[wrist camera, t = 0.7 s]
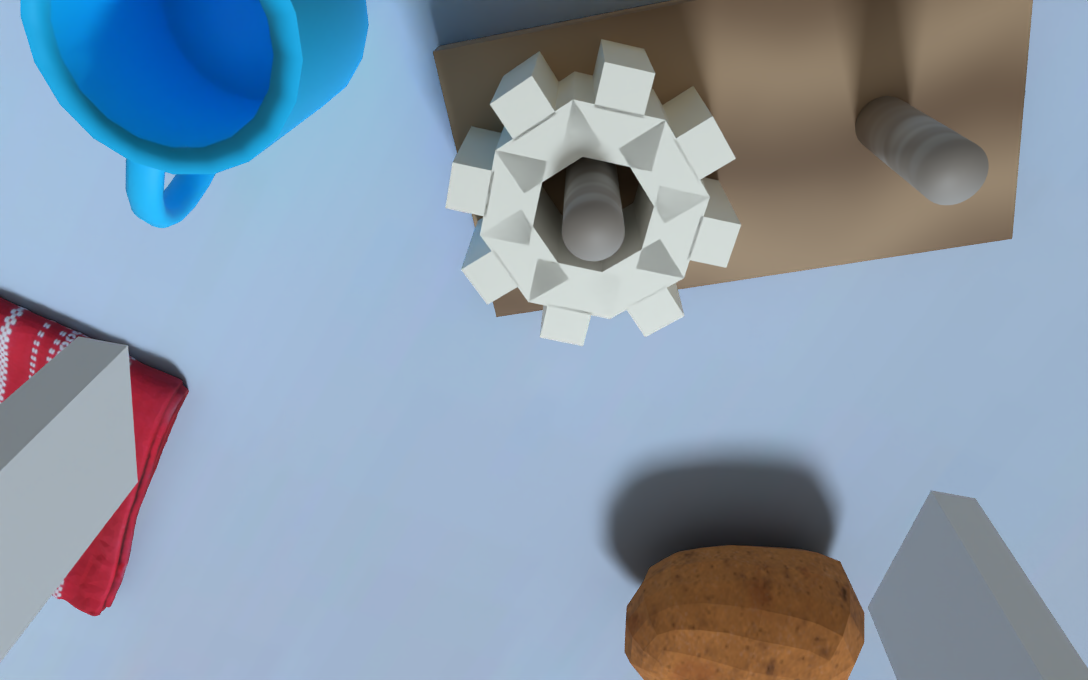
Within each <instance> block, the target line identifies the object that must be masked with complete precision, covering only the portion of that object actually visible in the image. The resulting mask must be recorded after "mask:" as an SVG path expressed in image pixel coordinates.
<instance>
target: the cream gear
mask: <svg viewBox="0 0 1088 680" xmlns="http://www.w3.org/2000/svg"><path fill="white" fill-rule="evenodd" d="M654 76H655V72H654V69H653V67H652V65H651V63H650V60H649V58H648V56H647V54H646V52H645V49H643V48H638V47H634V46H630V45H625V44H621V43H617V42H612V41H608V40H603V39H601V42H600V47H599V51H598V55H597V60H596V64H595V68H594V73H593V75H588V74H584V73H580V72H575V71H574V72H573V73H571V74H570V75H568V76H567V77H565V78H564V79H562V80H561V81H558V80H557V78H556V77H555V75H554V73H553V72H552V70H551V69H550V67H549V65H548V64H547V62H546V61H545V59H544V57H543V56H542V54H541V52H540V51H539V52H537V53H536V54H534V55H533V56H531V57H530V58H528V59H527V60H526V61H524V62H523V63H521V64H520V65H518V66H517V67H515V68H514V69H512V70H511V71H509V72H508V73H507V74H505V75H504V76H503V78H502V80H501V82H500V84H499V86H498V88H497V90H496V92H495V94H494V96H493V98H492V101H491V103H490V105H491V107H492V108H493V110H494V111H495V113H496V114H497V116H498V117H499V119H500V120H501V122H502V123H503V125H504V128H503V130H502V133H500V132H495V131H490V130H486V129H481V128H477V127H472V126H471V128H470V130H469V132H468V134H467V136H466V137H465V139H464V141H463V143H462V145H461V147H460V149H459V151H458V153H457V155H456V157H455V159H454V161H453V163H452V169H451V176H450V182H449V189H448V195H447V201H446V208H447V209H452V210H456V211H461V212H466V213H471V214H475V215H480V216H483V218H482V219H480V220H478V221H477V224H476V227H475V230H474V233H473V236H472V239H471V242H470V245H469V248H468V251H467V254H466V257H465V260H464V263H463V266H462V269H461V270H462V271H463V273H464V274H465V275H466V277H467V278H468V279H469V281H470V282H471V283H472V285H473V286H474V287H475V289H476V290H477V291H478V293H479V294H480V295H481V297H482V298H483V299H484V301H485V302H486V303H487V305H488V304H489V303H491V302H493V301H495V300H496V299H498V298H500V297H501V296H503V295H505V294H506V293H508V292H510V291H512V290H513V289H515V288H517V287H518V288H519V290H520V291H521V292H522V294H523V295H524V297H525V298H526V299H527V301H528V302H531V303H535V304H540V305H543V313H542V323H541V333H540V338H545V339H550V340H555V341H560V342H565V343H570V344H575V345H580V346H583V344H584V340H585V337H586V333H587V329H588V325H589V322H590V318H591V315H593V316H598V317H603V318H608V319H611V318H613V317H614V316H616V315H618V314H620V313H622V312H624V311H625V310H627V311H628V312H629V314H630V315H631V317H632V318H633V320H634V321H635V323H636V324H637V326H638V327H639V329H640V330H641V332H642V333H643V335H644V336H645V337H646V336H648V335H650V334H652V333H654V332H656V331H658V330H659V329H661V328H663V327H665V326H667V325H669V324H671V323H672V322H674V321H676V320H678V319H680V318H682V317H684V313H683V309H682V305H681V301H680V297H679V293H678V289H677V285H676V282H678V281H680V280H682V279H683V278H684V277H685V273H686V270H687V267H688V264H689V261H690V260H692V261H696V262H701V263H706V264H710V265H715V266H720V267H724V268H726V267H727V264H728V262H729V259H730V256H731V253H732V250H733V247H734V244H735V241H736V238H737V235H738V233H739V230H740V227H741V223H740V221H739V219H738V217H737V216H736V214H735V212H734V210H733V208H732V206H731V204H730V202H729V200H728V198H727V196H726V194H725V192H724V190H723V188H722V186H721V184H720V182H719V180H714V179H709V178H705V177H706V176H707V175H709V174H711V173H712V172H714V171H716V170H717V169H719V168H721V167H723V166H724V165H726V164H728V163H729V162H731V161H733V160H734V159H736V158H735V156H734V154H733V152H732V150H731V149H730V147H729V145H728V143H727V141H726V140H725V138H724V136H723V134H722V132H721V130H720V129H719V127H718V125H717V123H716V121H715V120H714V118H713V116H712V114H711V113H710V111H709V110H708V108H707V106H706V105H705V103H704V102H703V100H702V99H701V97H700V95H699V94H698V92H697V91H696V89H695V88H694V86H692V87H690V88H689V89H687V90H686V91H684V92H682V93H681V94H679V95H678V96H676V97H674V98H673V99H671V100H670V101H668V102H666V103H665V104H663V105H662V104H661V102H660V100H659V98H658V97H657V95H656V93H655V91H654V89H651V88H652V84H653V80H654ZM582 157H587V158H591V159H596V160H600V161H605V162H609V163H614V164H619V165H623V166H628V167H630V168H631V169H632V171H633V173H634V174H635V176H636V178H637V179H638V181H639V184H638V188H637V192H636V195H635V199H634V203H632V204H630V205H629V206H627V207H625V208H624V209H622V212H623V219H624V227H625V235H624V240H623V243H622V245H621V246H620V248H619V249H618V250H617V251H616V252H615V253H614V254H613V255H612V256H610V257H608V258H606V259H604V260H600V261H586V260H582V259H580V258H578V257H576V256H575V255H573V254H572V253H571V252H570V251H569V250H568V249H567V247H566V245H565V243H564V241H563V237H562V224H563V215H561V214H560V212H559V211H558V209H557V208H556V206H555V205H554V203H553V202H552V200H551V199H550V197H549V196H548V194H547V193H546V191H545V190H544V188H543V187H542V182H543V181H545V180H546V179H548V178H550V177H551V176H553V175H554V174H556V173H558V172H559V171H561V170H562V169H564V168H566V167H567V166H569V165H570V164H572V163H574V162H575V161H577V160H578V159H580V158H582Z"/></svg>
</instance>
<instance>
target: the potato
mask: <svg viewBox="0 0 1088 680" xmlns="http://www.w3.org/2000/svg"><path fill="white" fill-rule="evenodd" d="M863 644H864V611H863V609H862V607H861V605H860V603H859V601H858V599H857V596H856V594H855V592H854V590H853V588H852V586H851V584H850V581H849V579H848V577H847V575H846V573H845V571H844V569H843V567H842V564H841V562H840V561H837V560H835V559H832V558H830V557H827V556H825V555H822V554H820V553H817V552H812V551H808V550H803V549H793V548H780V547H763V546H742V545H724V546H713V547H703V548H697V549H691V550H685V551H679V552H677V553H674V554H672V555H671V556H669V557H667V558H665V559H663V560H661V561H660V562H658V563H656V564H655V565H653V566H651V567H650V568H649V569H648V572H647V574H646V577H645V579H644V581H643V583H642V584H641V586H640V587H639V589H638V590H637V592H636V593H635V595H634V596H633V598H632V599H631V601H630V602H629V604H628V605H627V612H626V631H625V653H626V655H627V657H628V659H629V661H630V663H631V664H632V666H633V667H634V668H635V669H636V671H637V672H638V673H639V674H640V676H641V677H642V678H643V679H644V680H848V677H849V675H850V673H851V671H852V669H853V667H854V665H855V662H856V660H857V658H858V655H859V653H860V651H861V648H862V646H863Z"/></svg>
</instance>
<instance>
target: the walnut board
mask: <svg viewBox="0 0 1088 680" xmlns="http://www.w3.org/2000/svg"><path fill="white" fill-rule="evenodd" d="M1032 4H1033V0H671V1H665V2H660V3H655V4H650V5H645V6H640V7H635V8H630V9H625V10H620V11H615V12H610V13H604V14H599V15H594V16H589V17H584V18H579V19H574V20H569V21H564V22H559V23H554V24H549V25H543V26H538V27H533V28H528V29H523V30H518V31H513V32H508V33H503V34H498V35H493V36H488V37H482V38H477V39H472V40H467V41H462V42H457V43H452V44H447V45H442V46H439V47H438V48H437V49H436V50H434V51H433V55H434V59H435V63H436V67H437V72H438V76H439V80H440V84H441V88H442V92H443V96H444V101H445V105H446V109H447V113H448V117H449V121H450V126H451V130H452V134H453V138H454V142H455V146H456V150H457V153H458V151H459V149H460V147H461V145H462V143H463V141H464V139H465V137H466V136H467V134H468V132H469V130H470V128H471V126H472V127H477V128H481V129H486V130H490V131H495V132H500V133H502V130H503V128H504V125H503V123H502V122H501V120H500V119H499V117H498V116H497V114H496V113H495V111H494V110H493V108H492V107H491V105H490V103H491V101H492V98H493V96H494V94H495V92H496V90H497V88H498V86H499V84H500V82H501V80H502V78H503V76H504V75H505V74H507V73H508V72H509V71H511V70H512V69H514V68H515V67H517V66H518V65H520V64H521V63H523V62H524V61H526V60H527V59H528V58H530V57H531V56H533V55H534V54H536V53H537V52H539V51H540V52H541V54H542V56H543V57H544V59H545V61H546V62H547V64H548V65H549V67H550V69H551V70H552V72H553V73H554V75H555V77H556V78H557V80H558V81H561V80H562V79H564V78H565V77H567V76H568V75H570V74H571V73H573V72H574V71H575V72H580V73H584V74H588V75H593V73H594V68H595V64H596V60H597V55H598V51H599V47H600V42H601V39H603V40H608V41H612V42H617V43H621V44H625V45H630V46H634V47H638V48H643V49H645V52H646V54H647V56H648V58H649V60H650V63H651V65H652V67H653V69H654V72H655V76H654V80H653V84H652V88H651V89H654V91H655V93H656V95H657V97H658V98H659V100H660V102H661V104H662V105H663V104H665V103H666V102H668V101H670V100H671V99H673V98H674V97H676V96H678V95H679V94H681V93H682V92H684V91H686V90H687V89H689V88H690V87H692V86H694V88H695V89H696V91H697V92H698V94H699V95H700V97H701V99H702V100H703V102H704V103H705V105H706V106H707V108H708V110H709V111H710V113H711V114H712V116H713V118H714V120H715V121H716V123H717V125H718V127H719V129H720V130H721V132H722V134H723V136H724V138H725V140H726V141H727V143H728V145H729V147H730V149H731V150H732V152H733V154H734V156H735V158H736V159H734V160H733V161H731V162H729V163H728V164H726V165H724V166H723V167H721V168H719V169H717V170H716V171H714V172H712V173H711V174H709V175H707V176H706V177H705V178H709V179H714V180H719V182H720V184H721V186H722V188H723V190H724V192H725V194H726V196H727V198H728V200H729V202H730V204H731V206H732V208H733V210H734V212H735V214H736V216H737V217H738V219H739V221H740V223H741V227H740V230H739V233H738V235H737V238H736V241H735V244H734V247H733V250H732V253H731V256H730V259H729V262H728V264H727V267H726V268H724V267H720V266H715V265H710V264H706V263H701V262H696V261H692V260H690V261H689V264H688V267H687V270H686V273H685V277H684V278H683V279H682V280H680V281H678V282H676V285H677V289H684V288H690V287H697V286H704V285H710V284H717V283H723V282H730V281H736V280H743V279H750V278H756V277H763V276H769V275H776V274H783V273H789V272H796V271H802V270H809V269H816V268H822V267H829V266H835V265H842V264H848V263H855V262H862V261H868V260H875V259H881V258H888V257H895V256H901V255H908V254H914V253H921V252H927V251H934V250H941V249H947V248H954V247H960V246H967V245H974V244H980V243H987V242H993V241H1000V240H1007V239H1012V234H1013V223H1014V211H1015V199H1016V188H1017V176H1018V165H1019V153H1020V142H1021V130H1022V119H1023V107H1024V96H1025V84H1026V73H1027V61H1028V50H1029V38H1030V27H1031V15H1032ZM638 184H639V181H638V179H637V178H636V176H635V174H634V173H633V171H632V169H631V168H630V167H628V166H623V165H619V164H614V163H609V162H605V161H600V160H596V159H591V158H587V157H582V158H580V159H578V160H577V161H575V162H574V163H572V164H570V165H569V166H567V167H566V168H564V169H562V170H561V171H559V172H558V173H556V174H554V175H553V176H551V177H550V178H548V179H546V180H545V181H543V182H542V187H543V188H544V190H545V191H546V193H547V194H548V196H549V197H550V199H551V200H552V202H553V203H554V205H555V206H556V208H557V209H558V211H559V212H560V214H561V215H563V224H562V237H563V241H564V243H565V245H566V247H567V249H568V250H569V251H570V252H571V253H572V254H573V255H575V256H576V257H578V258H580V259H582V260H586V261H600V260H604V259H606V258H608V257H610V256H612V255H613V254H614V253H615V252H616V251H617V250H618V249H619V248H620V246H621V245H622V243H623V240H624V235H625V227H624V219H623V212H622V209H624V208H625V207H627V206H629V205H630V204H632V203H634V199H635V195H636V192H637V188H638ZM472 217H473V221H474V225H475V227H476V224H477V221H478V220H480V219H482V218H483V216H480V215H475V214H472ZM493 304H494V308H495V312H496V317H499V316H506V315H513V314H519V313H526V312H532V311H539V310H543V305H540V304H535V303H531V302H528V301H527V299H526V298H525V297H524V295H523V294H522V292H521V291H520V290H519V288H518V287H517V288H515V289H513V290H512V291H510V292H508V293H506V294H505V295H503V296H501V297H500V298H498V299H496V300H495V301H493Z"/></svg>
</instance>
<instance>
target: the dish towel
mask: <svg viewBox="0 0 1088 680" xmlns="http://www.w3.org/2000/svg"><path fill="white" fill-rule="evenodd" d="M78 336H79V337H84V338H90V337H88V336H86V335H84V334H83V333H81V332H78V331H75V330H72V329H71V328H68V327H65V326H62V325H60V324H58V323H57V322H55V321H52V320H48V319H46V318H44V317H42V316H39V315H37V314H35V313H32V312H31V311H29V310H28V309H26V308H23V307H20V306H18V305H15V304H13V303H11V302H9V301H7V300H5V299H3V298H1V297H0V404H1V403H2V402H3V401H4V400H6V399H7V398H8V397H9V396H10V395H11V394H12V393H14V392H15V391H16V390H17V389H18V388H19V387H21V386H22V385H23V384H24V383H25V382H26V381H27V380H29V379H30V378H31V377H32V376H33V375H34V374H35V373H37V372H38V371H39V370H40V369H41V368H42V367H44V366H45V365H46V364H47V363H48V362H49V361H50V360H52V359H53V358H54V357H55V356H56V355H57V354H59V353H60V352H61V351H62V350H63V349H64V348H65V347H67V346H68V345H69V344H70V343H71V342H72V341H74V340H75V339H76V338H77V337H78ZM90 339H92V338H90ZM129 366H130V380H131V394H132V408H133V422H134V436H135V450H136V464H137V478H138V482H137V484H136V485H135V486H134V488H133V489H132V490H131V492H130V493H129V494H128V496H127V497H126V498H125V500H124V501H123V502H122V503H121V505H120V506H119V507H118V509H117V510H116V511H115V513H114V514H113V515H112V517H111V518H110V519H109V521H108V522H107V523H106V524H105V526H104V527H103V528H102V530H101V531H100V532H99V534H98V535H97V536H96V538H95V539H94V540H93V542H92V543H91V544H90V545H89V547H88V548H87V549H86V551H85V552H84V553H83V555H82V556H81V557H80V559H79V560H78V561H77V563H76V564H75V565H74V567H73V568H72V569H71V570H70V572H69V573H68V574H67V576H66V577H65V578H64V580H63V581H62V582H61V584H60V585H59V586H58V588H57V589H56V590H55V591H54V593H53V594H52V595H53V596H54V597H55V598H57V599H64V600H66V601H67V602H69V603H70V604H71V605H73V606H74V607H75V608H77V609H79V610H81V611H83V612H85V613H87V614H90V615H92V616H97V615H100V613H101V612H102V611H103V610H104V609H105V608H106V607H110V606H111V605H112V602H113V600H114V598H115V596H116V593H117V591H118V589H119V587H120V585H121V582H122V579H123V576H124V572H125V569H126V566H127V564H128V560H129V556H130V551H131V545H132V540H133V535H134V528H135V524H136V518H137V515H138V512H139V509H140V506H141V504H142V501H143V499H144V497H145V494H146V491H147V488H148V486H149V484H150V481H151V479H152V477H153V474H154V472H155V470H156V468H157V465H158V462H159V459H160V456H161V454H162V451H163V448H164V446H165V444H166V442H167V439H168V436H169V434H170V432H171V429H172V426H173V424H174V422H175V420H176V417H177V414H178V412H179V410H180V408H181V406H182V404H183V402H184V400H185V398H186V396H187V394H188V392H189V391H188V389H187V388H186V387H185V386H184V385H183V382H182V380H181V379H179V378H177V377H174V376H172V375H169V374H167V373H165V372H162V371H160V370H157V369H155V368H152V367H149V366H147V365H145V364H143V363H141V362H139V361H138V360H136V359H135V358H133V357H131V356H129Z"/></svg>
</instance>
